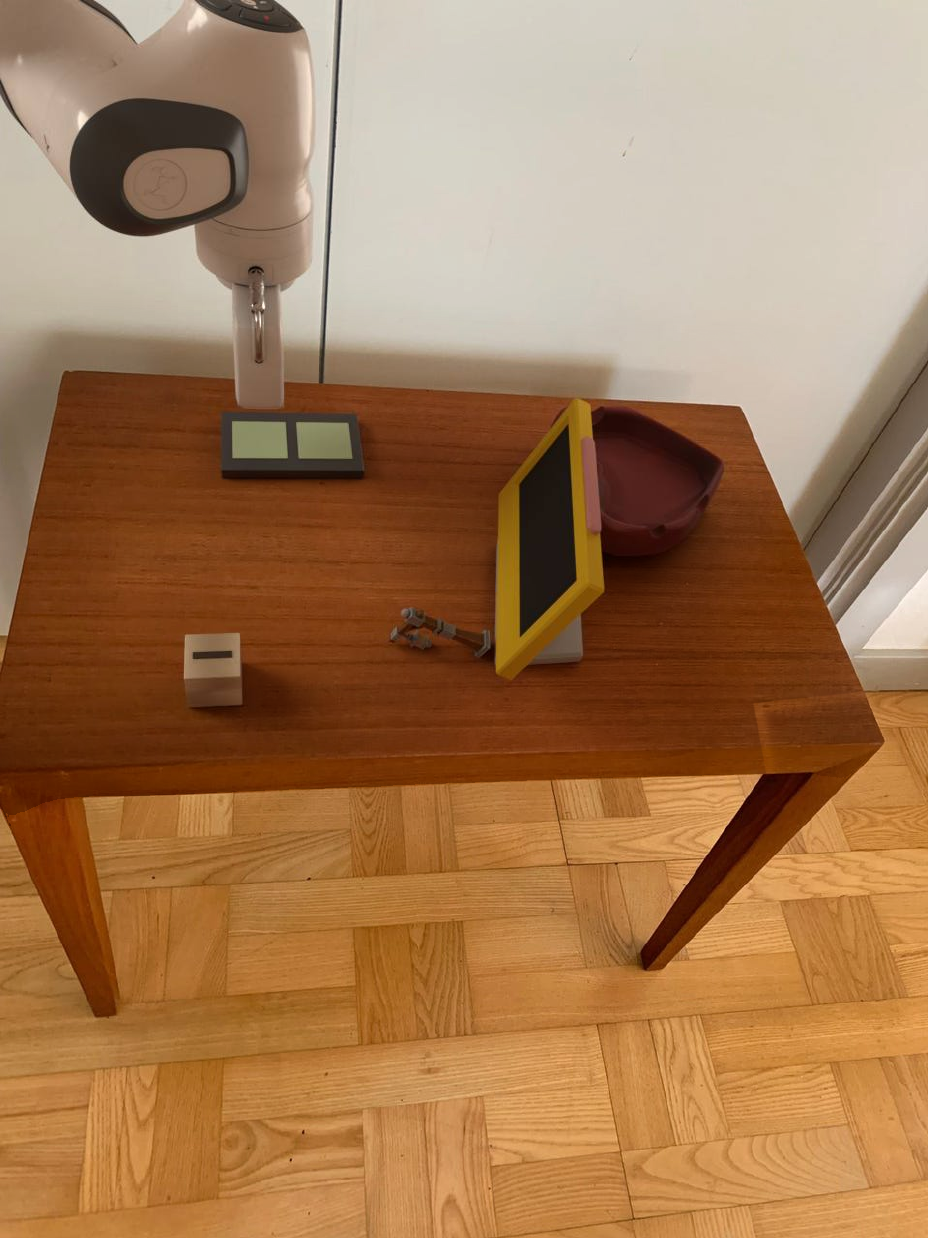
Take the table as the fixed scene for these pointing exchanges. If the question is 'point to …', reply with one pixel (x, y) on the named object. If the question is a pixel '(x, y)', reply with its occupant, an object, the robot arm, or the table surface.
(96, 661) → the table surface
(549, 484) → the toy computer monitor
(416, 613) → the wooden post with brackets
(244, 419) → the dark grey flat block
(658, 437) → the ashtray
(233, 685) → the tile
